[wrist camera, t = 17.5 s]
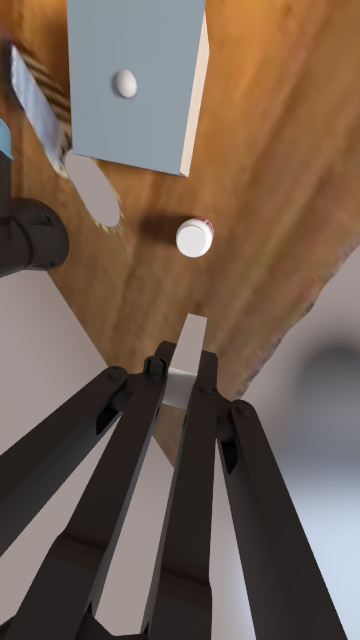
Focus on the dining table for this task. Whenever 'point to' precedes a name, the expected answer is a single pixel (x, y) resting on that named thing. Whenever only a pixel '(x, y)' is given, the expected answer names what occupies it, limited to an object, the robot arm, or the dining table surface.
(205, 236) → the pill bottle
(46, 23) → the dining table surface
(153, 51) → the lid
